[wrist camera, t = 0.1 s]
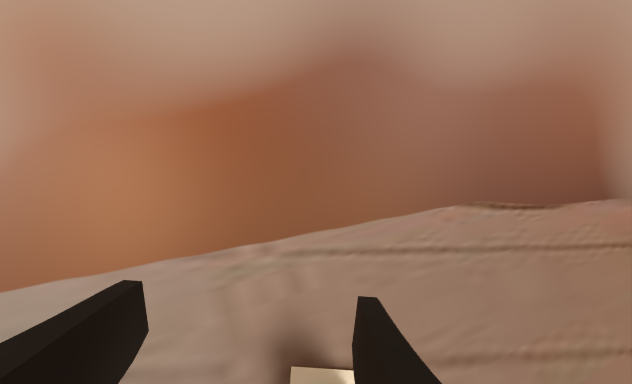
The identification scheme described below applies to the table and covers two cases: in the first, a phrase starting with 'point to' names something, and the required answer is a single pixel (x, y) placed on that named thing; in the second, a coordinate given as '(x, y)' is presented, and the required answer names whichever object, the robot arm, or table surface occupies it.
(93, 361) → the robot arm
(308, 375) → the tile
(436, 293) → the table surface
